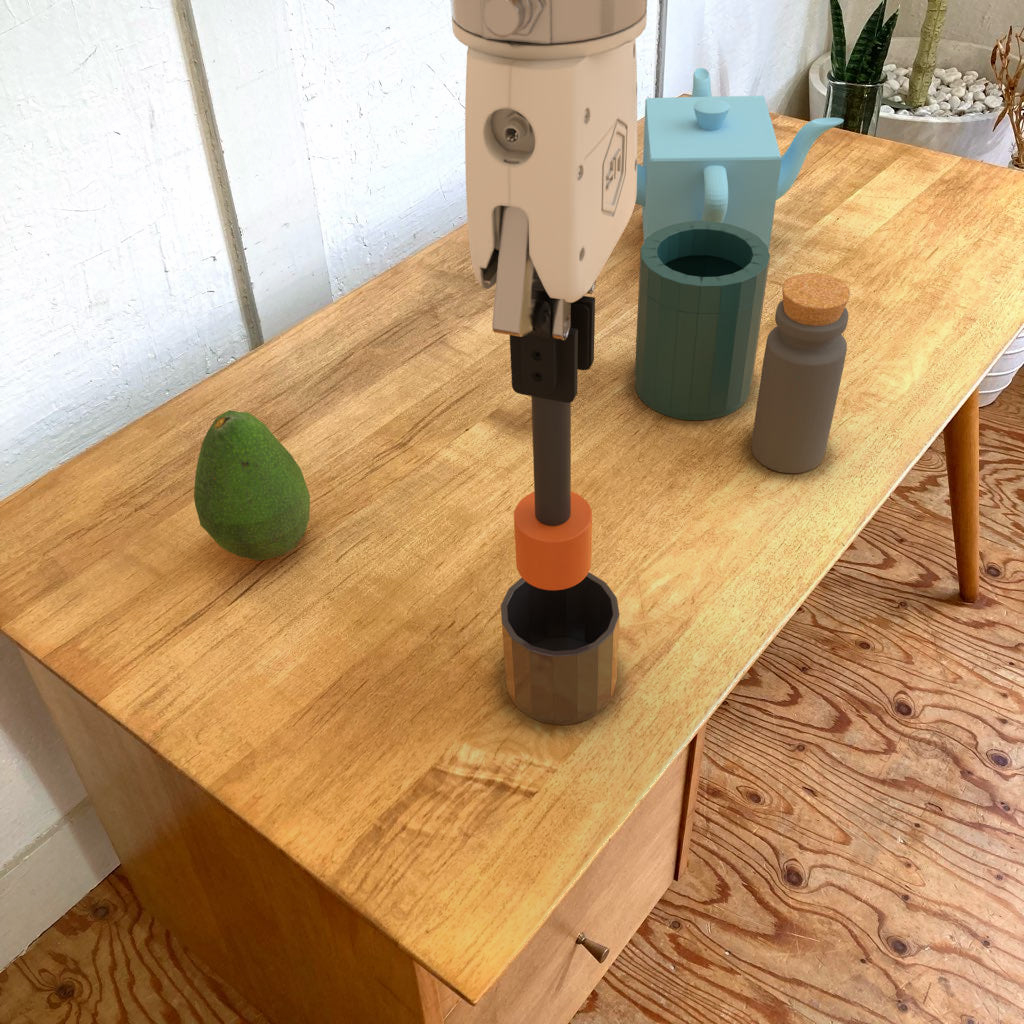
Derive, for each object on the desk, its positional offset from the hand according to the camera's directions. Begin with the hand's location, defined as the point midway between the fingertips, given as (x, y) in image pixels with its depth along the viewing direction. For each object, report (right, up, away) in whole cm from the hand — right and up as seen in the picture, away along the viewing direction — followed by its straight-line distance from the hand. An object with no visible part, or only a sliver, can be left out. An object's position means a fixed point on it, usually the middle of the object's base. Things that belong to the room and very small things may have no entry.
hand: (553, 376), depth 52 cm
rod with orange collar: (0, -10, +9) cm, 14 cm away
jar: (+14, +4, +39) cm, 42 cm away
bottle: (+20, -2, +33) cm, 39 cm away
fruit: (-21, -10, +27) cm, 35 cm away
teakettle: (+17, +22, +58) cm, 64 cm away
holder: (+1, -18, +17) cm, 25 cm away
